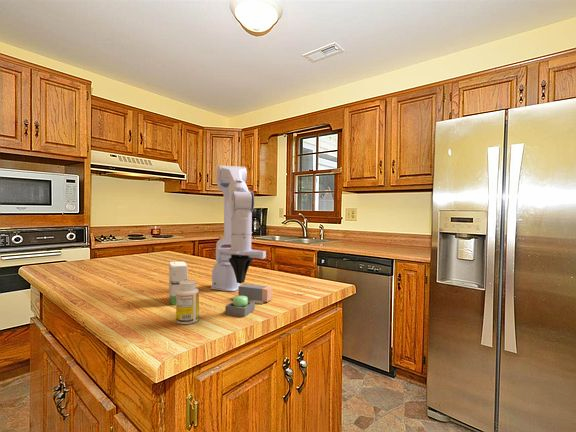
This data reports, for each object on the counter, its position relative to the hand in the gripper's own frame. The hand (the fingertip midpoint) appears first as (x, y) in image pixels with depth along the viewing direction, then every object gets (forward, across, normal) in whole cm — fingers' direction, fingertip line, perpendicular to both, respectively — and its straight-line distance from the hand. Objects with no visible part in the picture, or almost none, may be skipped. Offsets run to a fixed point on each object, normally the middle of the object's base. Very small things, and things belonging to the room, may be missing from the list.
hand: (240, 282), depth 87 cm
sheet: (+8, -2, +12) cm, 15 cm away
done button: (+7, 0, 0) cm, 7 cm away
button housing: (+8, 0, 0) cm, 8 cm away
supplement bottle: (+9, -9, -12) cm, 17 cm away
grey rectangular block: (+8, -1, +12) cm, 15 cm away
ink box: (+9, -23, +2) cm, 25 cm away
